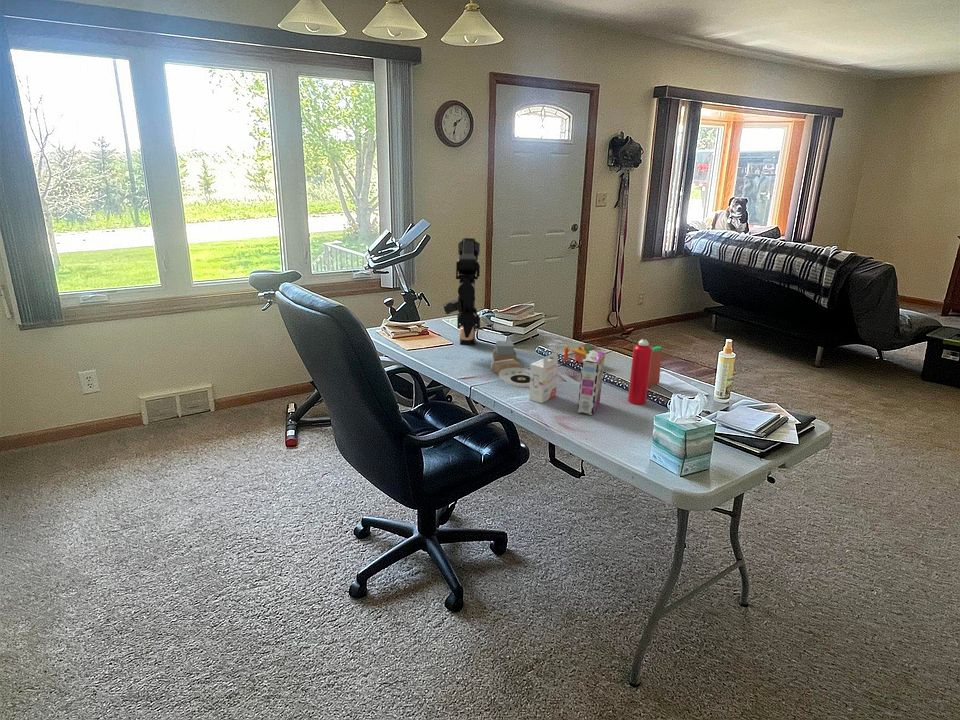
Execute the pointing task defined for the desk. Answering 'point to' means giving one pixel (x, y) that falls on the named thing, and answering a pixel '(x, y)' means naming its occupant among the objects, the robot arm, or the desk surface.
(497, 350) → the slate block
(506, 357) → the walnut block
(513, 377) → the record player
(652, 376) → the toy building block set
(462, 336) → the clay cylinder
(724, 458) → the desk surface
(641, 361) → the bottle
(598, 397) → the candy bar box
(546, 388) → the ink cartridge box
